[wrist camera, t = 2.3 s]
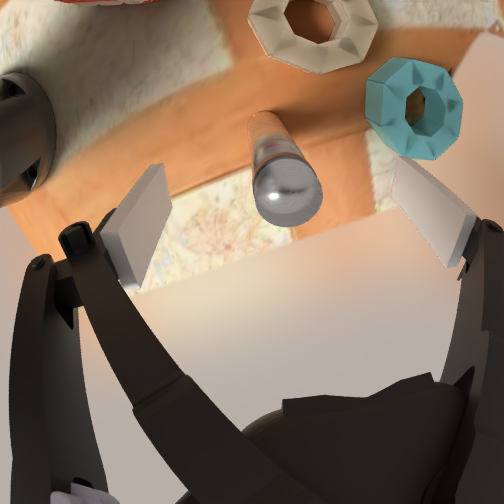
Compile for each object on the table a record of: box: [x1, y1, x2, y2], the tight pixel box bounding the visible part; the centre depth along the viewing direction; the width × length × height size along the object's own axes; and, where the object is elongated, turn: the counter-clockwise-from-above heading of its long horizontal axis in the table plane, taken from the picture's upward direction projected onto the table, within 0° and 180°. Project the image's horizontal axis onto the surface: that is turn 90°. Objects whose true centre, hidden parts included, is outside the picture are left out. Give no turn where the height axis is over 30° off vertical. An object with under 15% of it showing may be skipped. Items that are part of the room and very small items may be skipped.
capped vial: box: [247, 111, 323, 227], centre depth 18 cm, size 3×3×14 cm
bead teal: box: [365, 57, 463, 160], centre depth 20 cm, size 9×9×4 cm
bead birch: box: [247, 0, 378, 74], centre depth 16 cm, size 9×9×4 cm
